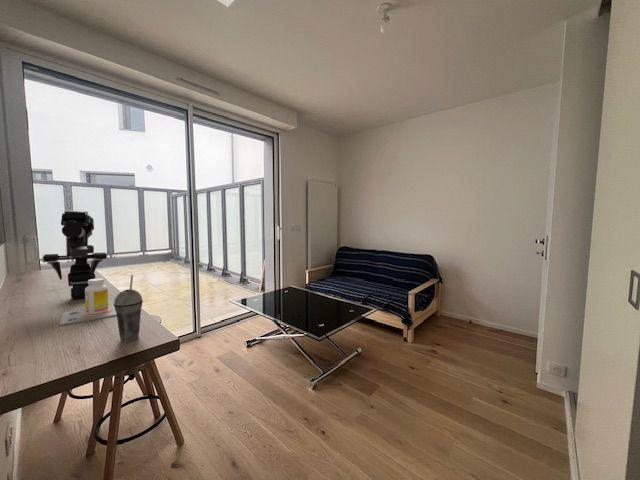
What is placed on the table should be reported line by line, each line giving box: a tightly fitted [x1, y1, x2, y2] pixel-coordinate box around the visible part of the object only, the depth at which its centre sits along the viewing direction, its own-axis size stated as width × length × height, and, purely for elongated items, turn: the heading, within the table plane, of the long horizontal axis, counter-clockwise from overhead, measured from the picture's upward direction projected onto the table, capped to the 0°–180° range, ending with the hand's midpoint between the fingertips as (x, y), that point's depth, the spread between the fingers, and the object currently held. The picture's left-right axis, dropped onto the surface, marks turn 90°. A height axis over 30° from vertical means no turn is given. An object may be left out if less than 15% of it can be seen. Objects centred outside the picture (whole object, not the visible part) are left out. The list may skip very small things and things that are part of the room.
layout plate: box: [59, 304, 117, 327], centre depth 98 cm, size 16×14×1 cm
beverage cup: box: [113, 274, 144, 343], centre depth 78 cm, size 7×7×20 cm
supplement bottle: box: [84, 277, 109, 314], centre depth 98 cm, size 7×7×13 cm
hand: (76, 278), depth 104 cm, fingers open, 9 cm apart
